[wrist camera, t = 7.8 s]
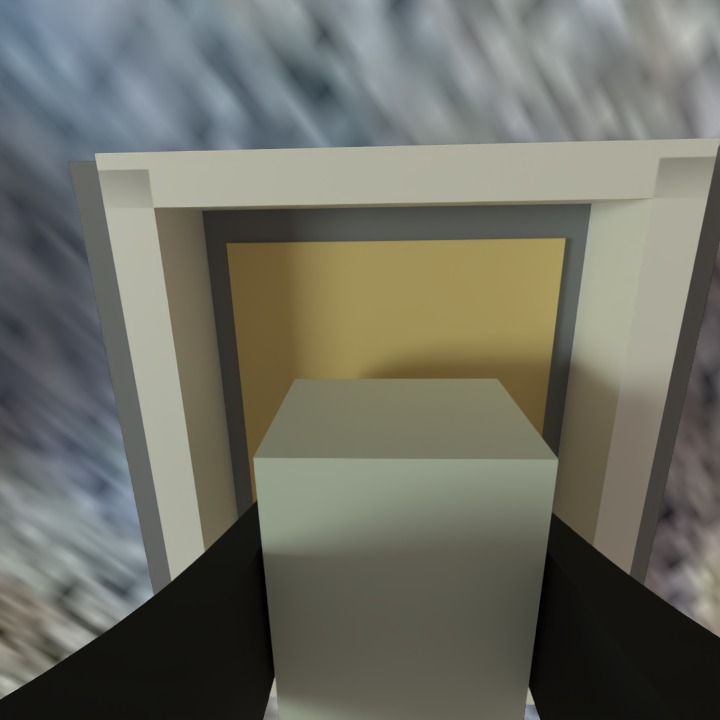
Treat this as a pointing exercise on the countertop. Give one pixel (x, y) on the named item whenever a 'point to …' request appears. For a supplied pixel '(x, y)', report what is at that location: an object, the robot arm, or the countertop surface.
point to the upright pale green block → (403, 548)
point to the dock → (401, 307)
